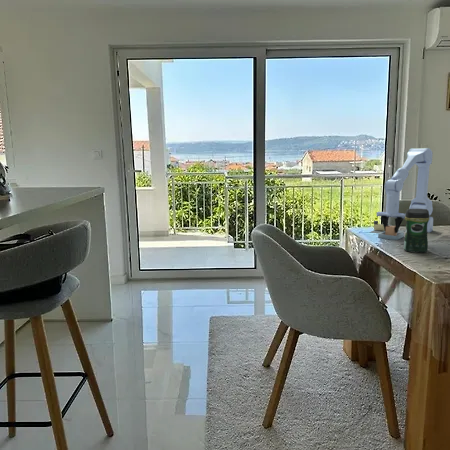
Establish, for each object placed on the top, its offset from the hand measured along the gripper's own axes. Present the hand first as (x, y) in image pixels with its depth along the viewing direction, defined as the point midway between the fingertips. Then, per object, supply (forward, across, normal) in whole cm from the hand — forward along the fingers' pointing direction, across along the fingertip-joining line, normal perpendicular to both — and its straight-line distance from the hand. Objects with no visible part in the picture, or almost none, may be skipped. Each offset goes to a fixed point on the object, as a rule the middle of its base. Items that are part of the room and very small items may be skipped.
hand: (391, 231), depth 195 cm
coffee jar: (+4, +16, -16) cm, 23 cm away
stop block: (+3, 0, 0) cm, 3 cm away
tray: (+4, 0, 0) cm, 4 cm away
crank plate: (+4, -6, +12) cm, 14 cm away
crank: (+3, -9, +13) cm, 16 cm away
